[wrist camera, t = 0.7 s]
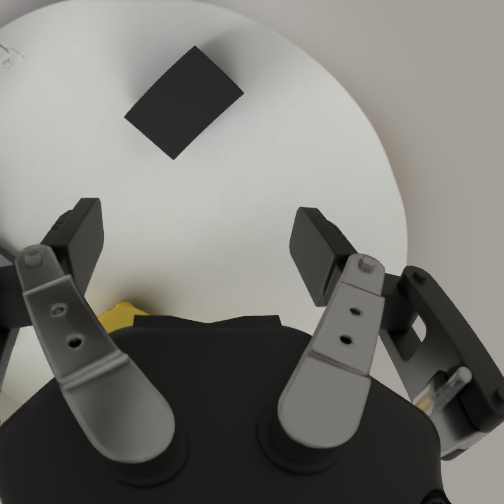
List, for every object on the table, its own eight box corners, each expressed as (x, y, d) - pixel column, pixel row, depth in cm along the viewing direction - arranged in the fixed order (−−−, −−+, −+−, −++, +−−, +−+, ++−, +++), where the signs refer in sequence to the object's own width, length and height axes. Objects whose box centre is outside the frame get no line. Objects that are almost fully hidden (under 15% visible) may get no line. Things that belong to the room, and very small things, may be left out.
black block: (135, 110, 22) (123, 117, 18) (195, 51, 20) (195, 45, 16) (177, 146, 24) (173, 160, 21) (236, 90, 22) (244, 93, 19)
